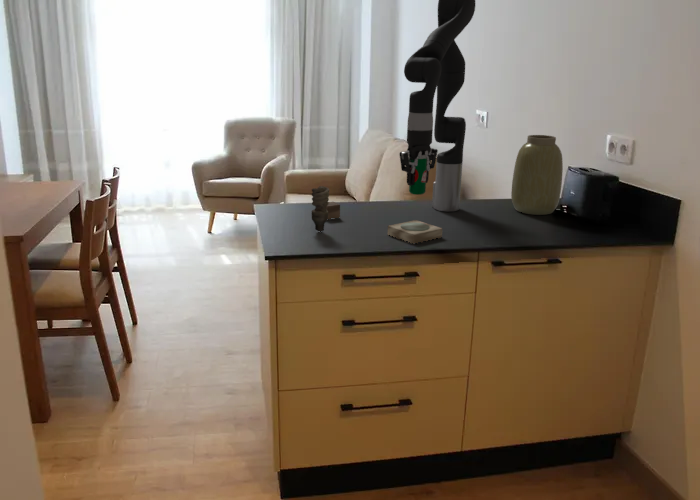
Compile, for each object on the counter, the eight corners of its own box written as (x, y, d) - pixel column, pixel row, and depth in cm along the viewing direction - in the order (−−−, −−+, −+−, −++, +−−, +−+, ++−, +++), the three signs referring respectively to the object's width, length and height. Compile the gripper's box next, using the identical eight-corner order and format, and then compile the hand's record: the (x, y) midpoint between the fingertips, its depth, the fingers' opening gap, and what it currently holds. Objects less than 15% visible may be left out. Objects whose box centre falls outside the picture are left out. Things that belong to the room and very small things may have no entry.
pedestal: (387, 234, 197) (387, 225, 196) (415, 228, 204) (415, 219, 203) (413, 244, 188) (414, 234, 187) (441, 237, 195) (442, 227, 194)
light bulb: (331, 231, 200) (332, 185, 195) (325, 236, 195) (325, 188, 190) (315, 229, 202) (315, 183, 197) (308, 234, 197) (308, 187, 192)
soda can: (424, 195, 189) (426, 155, 185) (408, 194, 190) (409, 155, 186) (426, 191, 194) (428, 153, 190) (409, 190, 195) (411, 152, 191)
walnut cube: (327, 206, 211) (327, 220, 213) (340, 204, 214) (339, 218, 215) (320, 203, 215) (320, 217, 217) (332, 201, 218) (332, 215, 219)
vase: (520, 202, 241) (527, 132, 233) (564, 209, 232) (573, 136, 223) (502, 211, 228) (509, 136, 220) (548, 219, 218) (557, 141, 210)
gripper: (428, 125, 193) (425, 179, 198) (393, 128, 184) (391, 184, 190) (446, 127, 187) (442, 183, 192) (411, 130, 179) (408, 189, 184)
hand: (417, 183), depth 191 cm, fingers closed on soda can, 5 cm apart
